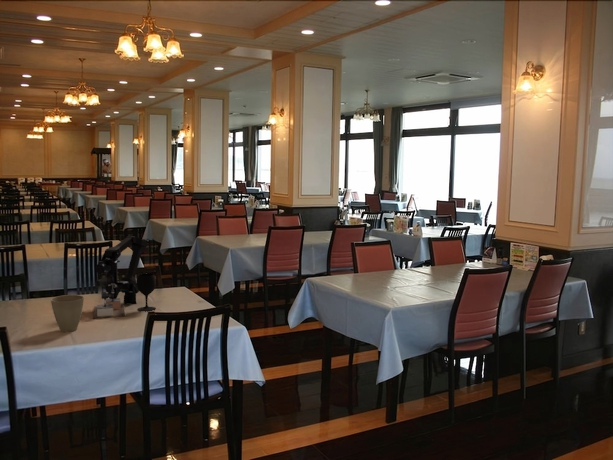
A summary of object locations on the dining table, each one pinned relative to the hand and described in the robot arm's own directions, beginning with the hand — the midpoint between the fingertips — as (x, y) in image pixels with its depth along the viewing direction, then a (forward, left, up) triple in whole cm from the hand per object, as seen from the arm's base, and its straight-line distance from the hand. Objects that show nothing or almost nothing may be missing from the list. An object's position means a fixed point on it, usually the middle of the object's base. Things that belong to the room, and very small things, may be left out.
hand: (112, 298), depth 317 cm
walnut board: (+2, +7, -6) cm, 9 cm away
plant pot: (+21, +39, -6) cm, 45 cm away
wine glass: (-18, +7, -6) cm, 20 cm away
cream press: (+4, +14, -6) cm, 16 cm away
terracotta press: (0, 0, -6) cm, 6 cm away
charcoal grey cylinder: (0, 0, -5) cm, 5 cm away
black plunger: (+4, +14, -1) cm, 15 cm away
